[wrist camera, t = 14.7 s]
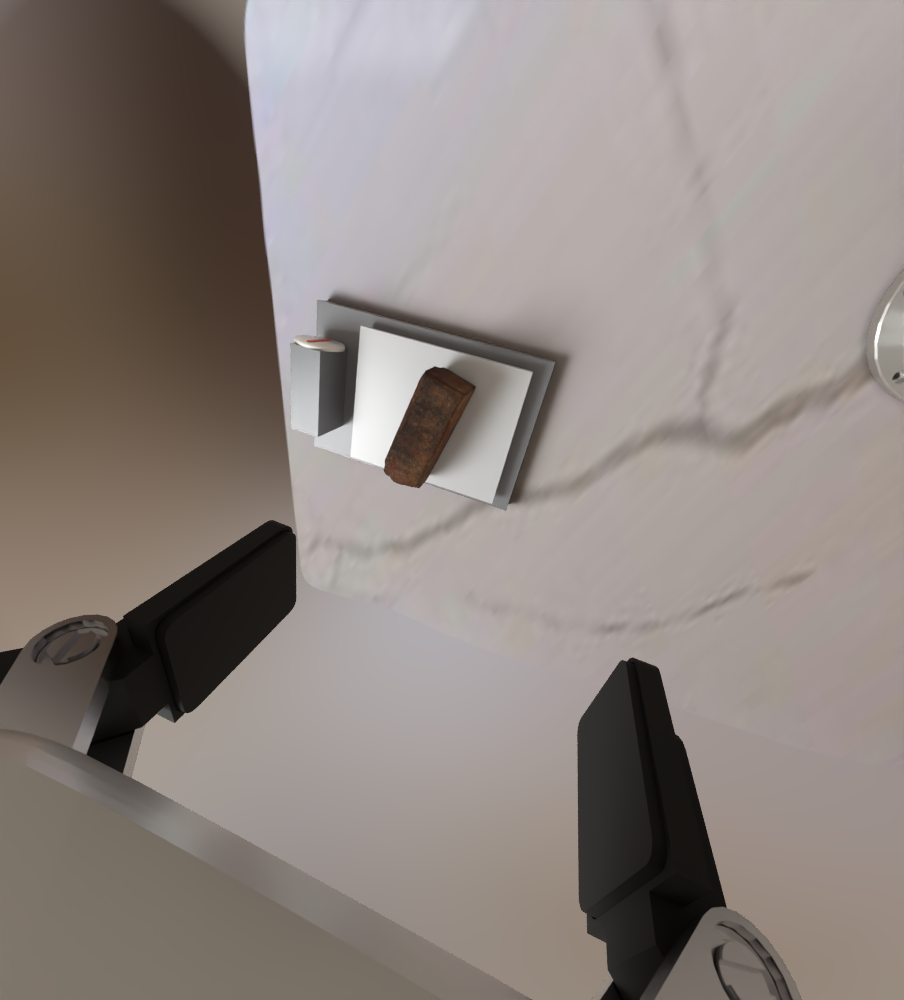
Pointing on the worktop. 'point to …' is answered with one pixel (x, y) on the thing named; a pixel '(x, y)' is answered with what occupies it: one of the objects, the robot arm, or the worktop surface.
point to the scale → (391, 384)
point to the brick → (427, 425)
